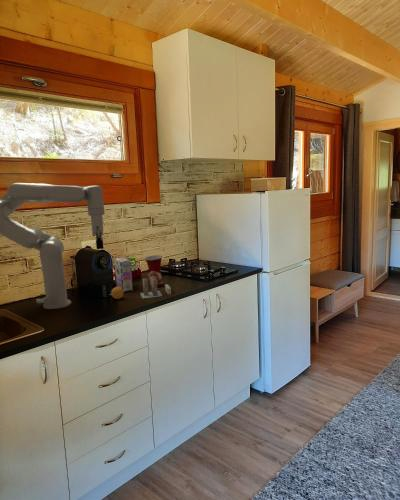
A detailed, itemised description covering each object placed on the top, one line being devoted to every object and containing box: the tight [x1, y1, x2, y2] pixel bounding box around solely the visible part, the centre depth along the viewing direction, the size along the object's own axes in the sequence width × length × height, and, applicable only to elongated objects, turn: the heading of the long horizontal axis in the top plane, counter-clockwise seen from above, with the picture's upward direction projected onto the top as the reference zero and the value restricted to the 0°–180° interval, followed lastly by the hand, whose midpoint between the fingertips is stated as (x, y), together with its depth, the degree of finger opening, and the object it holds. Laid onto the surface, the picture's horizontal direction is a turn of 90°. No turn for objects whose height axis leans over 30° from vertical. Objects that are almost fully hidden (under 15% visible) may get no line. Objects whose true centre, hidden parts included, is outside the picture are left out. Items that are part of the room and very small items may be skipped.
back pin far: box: [150, 277, 155, 293], centre depth 195 cm, size 2×2×8 cm
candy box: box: [113, 257, 134, 292], centre depth 207 cm, size 14×6×16 cm, turn 26°
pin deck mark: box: [140, 290, 163, 299], centre depth 193 cm, size 10×10×1 cm
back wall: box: [164, 283, 172, 295], centre depth 196 cm, size 2×9×3 cm, turn 15°
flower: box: [147, 271, 164, 287], centre depth 211 cm, size 10×9×8 cm
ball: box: [110, 286, 125, 300], centre depth 189 cm, size 6×6×6 cm
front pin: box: [142, 278, 149, 296], centre depth 192 cm, size 2×2×8 cm
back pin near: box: [152, 279, 159, 296], centre depth 190 cm, size 2×2×8 cm
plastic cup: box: [144, 254, 163, 273], centre depth 235 cm, size 11×11×12 cm
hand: (100, 247), depth 184 cm, fingers open, 9 cm apart
